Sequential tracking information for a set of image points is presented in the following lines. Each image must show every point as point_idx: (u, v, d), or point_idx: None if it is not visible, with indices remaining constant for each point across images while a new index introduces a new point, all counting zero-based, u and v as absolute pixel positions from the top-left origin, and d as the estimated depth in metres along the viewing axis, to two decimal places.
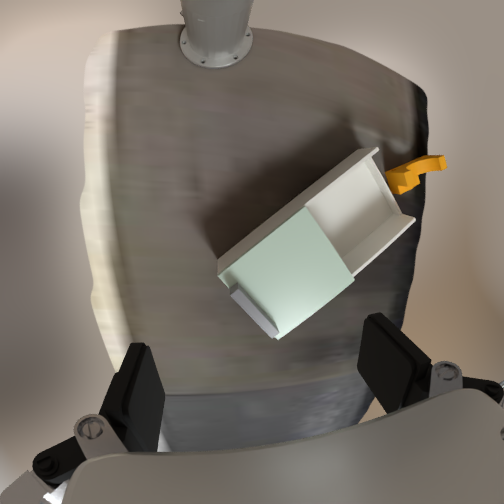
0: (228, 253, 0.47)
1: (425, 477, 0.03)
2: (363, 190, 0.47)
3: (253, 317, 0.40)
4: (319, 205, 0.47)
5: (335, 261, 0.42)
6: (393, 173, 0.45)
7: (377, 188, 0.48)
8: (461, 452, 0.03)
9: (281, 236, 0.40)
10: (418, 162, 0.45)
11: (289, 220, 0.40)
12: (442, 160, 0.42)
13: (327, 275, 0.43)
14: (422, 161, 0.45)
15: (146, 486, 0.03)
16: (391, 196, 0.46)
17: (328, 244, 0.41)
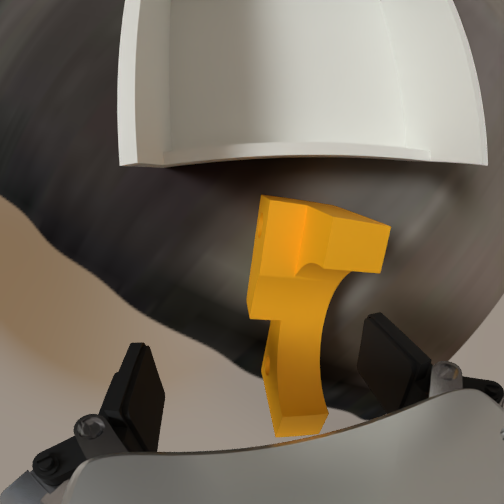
0: None
1: (425, 477, 0.03)
2: (314, 91, 0.13)
3: None
4: None
5: None
6: (350, 212, 0.13)
7: (292, 138, 0.14)
8: (461, 452, 0.03)
9: None
10: (317, 337, 0.15)
11: None
12: (310, 426, 0.13)
13: None
14: (315, 353, 0.15)
15: (146, 486, 0.03)
16: (261, 148, 0.12)
17: None
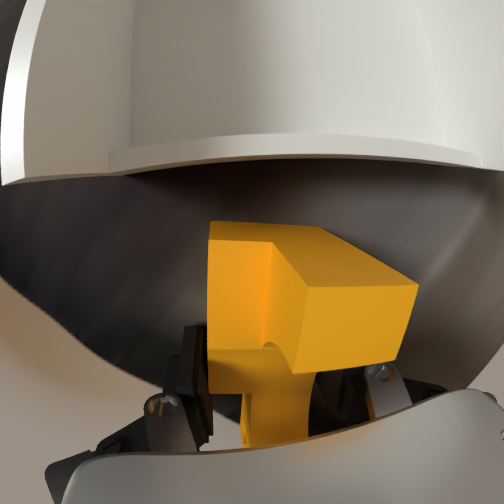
0: None
1: (425, 477, 0.03)
2: (333, 67, 0.09)
3: None
4: None
5: None
6: (345, 244, 0.08)
7: (304, 131, 0.10)
8: (461, 452, 0.03)
9: None
10: (303, 408, 0.11)
11: None
12: None
13: None
14: (302, 426, 0.10)
15: (146, 486, 0.03)
16: (262, 142, 0.07)
17: None
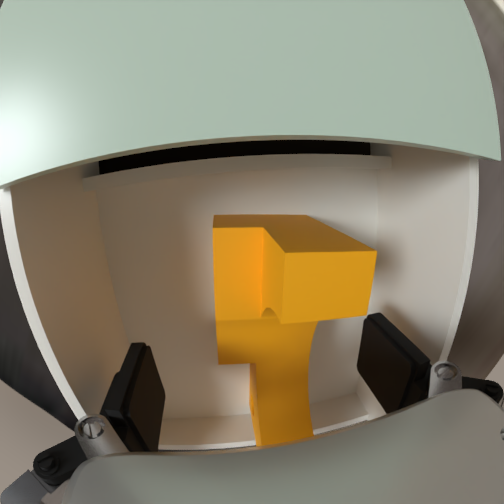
0: None
1: (425, 477, 0.03)
2: None
3: None
4: None
5: (140, 97, 0.04)
6: (325, 226, 0.10)
7: None
8: (461, 452, 0.03)
9: (447, 3, 0.04)
10: (303, 376, 0.13)
11: (485, 71, 0.05)
12: None
13: (99, 20, 0.04)
14: (303, 393, 0.12)
15: (146, 486, 0.03)
16: (222, 445, 0.14)
17: (299, 114, 0.05)
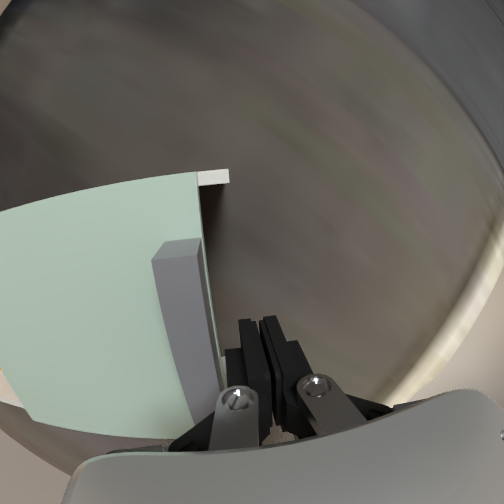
0: None
1: (425, 477, 0.03)
2: None
3: (209, 378, 0.10)
4: None
5: None
6: None
7: None
8: (461, 452, 0.03)
9: (76, 419, 0.13)
10: None
11: (59, 425, 0.13)
12: None
13: None
14: None
15: (146, 486, 0.03)
16: None
17: None
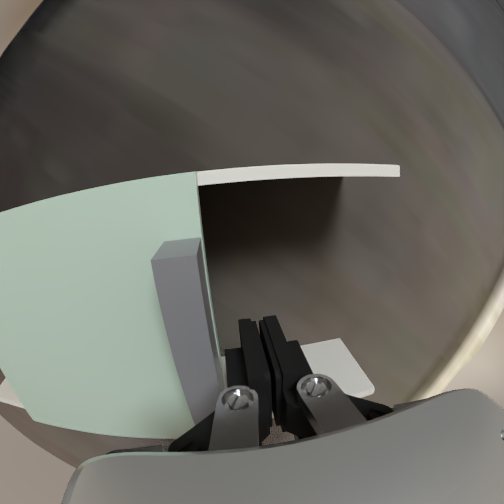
0: None
1: (425, 477, 0.03)
2: None
3: (209, 378, 0.10)
4: None
5: None
6: None
7: None
8: (461, 452, 0.03)
9: (77, 420, 0.13)
10: None
11: (59, 425, 0.13)
12: None
13: None
14: None
15: (146, 486, 0.03)
16: None
17: None
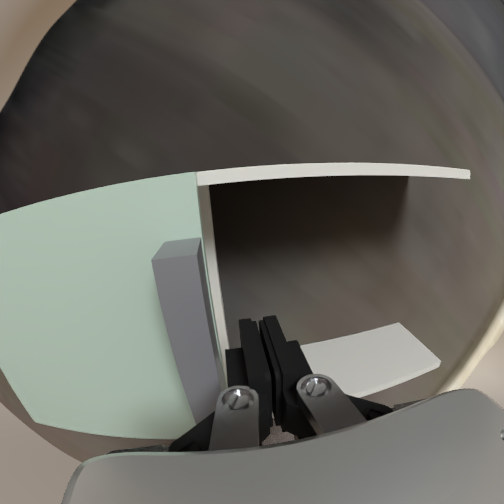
0: None
1: (425, 477, 0.03)
2: None
3: (210, 377, 0.10)
4: None
5: None
6: None
7: None
8: (461, 452, 0.03)
9: (78, 421, 0.13)
10: None
11: (60, 426, 0.13)
12: None
13: None
14: None
15: (146, 486, 0.03)
16: None
17: None
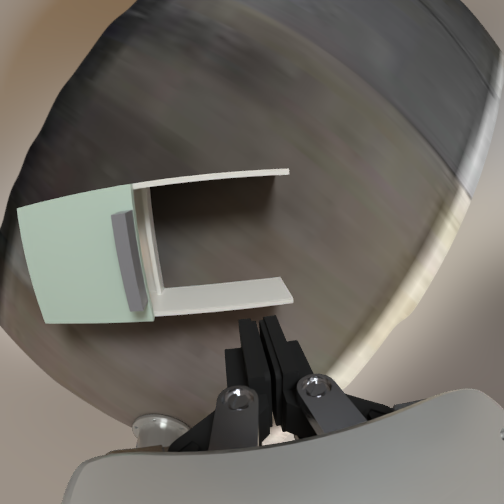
0: None
1: (425, 477, 0.03)
2: None
3: (130, 264, 0.25)
4: None
5: (29, 249, 0.25)
6: None
7: None
8: (461, 452, 0.03)
9: (72, 314, 0.28)
10: None
11: (61, 322, 0.28)
12: None
13: (40, 238, 0.25)
14: None
15: (146, 486, 0.03)
16: None
17: (31, 272, 0.26)
